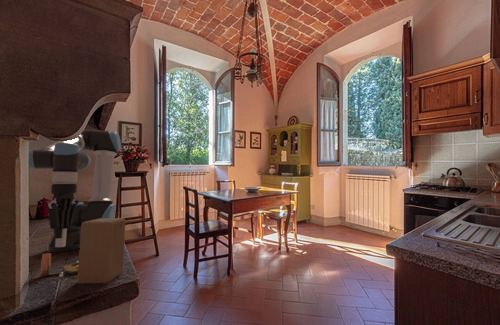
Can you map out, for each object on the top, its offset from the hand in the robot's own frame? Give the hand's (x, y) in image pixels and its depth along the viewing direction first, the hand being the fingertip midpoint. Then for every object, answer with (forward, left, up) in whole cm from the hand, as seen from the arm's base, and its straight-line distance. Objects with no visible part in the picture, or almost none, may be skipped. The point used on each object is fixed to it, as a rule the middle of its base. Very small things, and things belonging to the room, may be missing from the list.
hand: (60, 246), depth 85 cm
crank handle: (+5, +3, -8) cm, 10 cm away
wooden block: (+16, +14, -10) cm, 24 cm away
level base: (+5, +6, -9) cm, 12 cm away
